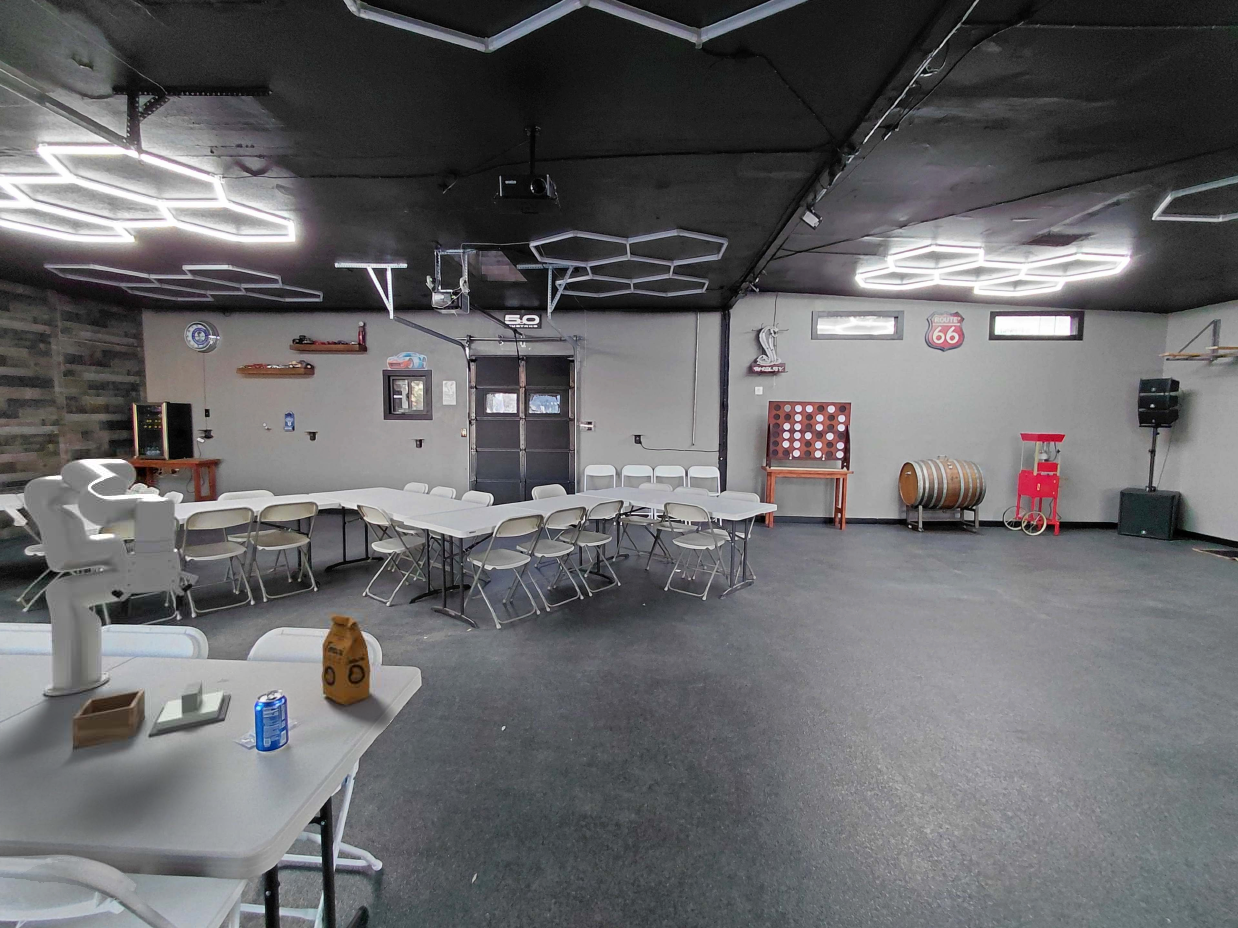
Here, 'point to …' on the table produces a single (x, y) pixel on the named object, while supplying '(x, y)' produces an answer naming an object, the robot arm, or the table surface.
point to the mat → (193, 724)
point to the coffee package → (345, 662)
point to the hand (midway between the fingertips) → (153, 612)
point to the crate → (108, 718)
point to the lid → (191, 707)
